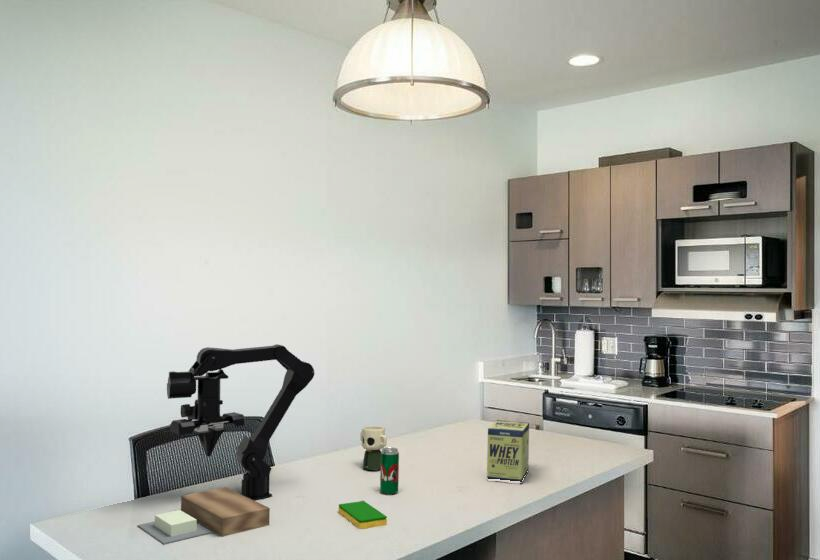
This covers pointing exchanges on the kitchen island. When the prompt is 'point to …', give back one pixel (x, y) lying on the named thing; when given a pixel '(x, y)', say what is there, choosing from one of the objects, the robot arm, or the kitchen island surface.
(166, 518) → the sage tile
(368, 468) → the character mug
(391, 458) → the soda can
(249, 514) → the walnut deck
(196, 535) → the slate mat
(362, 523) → the dish sponge
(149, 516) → the kitchen island surface
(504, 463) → the protein box
